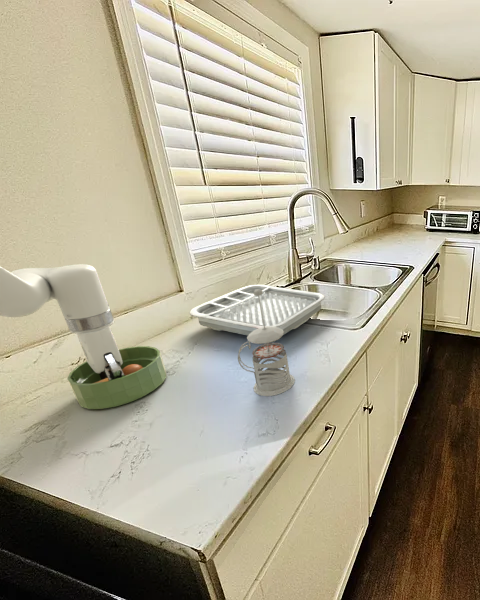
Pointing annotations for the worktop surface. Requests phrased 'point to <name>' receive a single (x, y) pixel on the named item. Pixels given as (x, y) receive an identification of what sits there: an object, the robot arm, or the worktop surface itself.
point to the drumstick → (126, 371)
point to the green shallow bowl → (119, 380)
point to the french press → (272, 377)
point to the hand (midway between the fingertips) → (116, 386)
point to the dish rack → (258, 309)
